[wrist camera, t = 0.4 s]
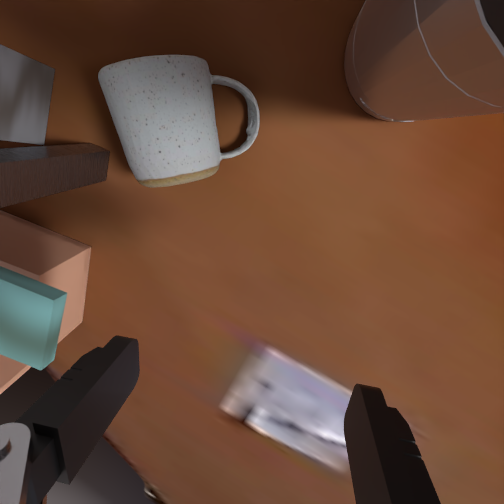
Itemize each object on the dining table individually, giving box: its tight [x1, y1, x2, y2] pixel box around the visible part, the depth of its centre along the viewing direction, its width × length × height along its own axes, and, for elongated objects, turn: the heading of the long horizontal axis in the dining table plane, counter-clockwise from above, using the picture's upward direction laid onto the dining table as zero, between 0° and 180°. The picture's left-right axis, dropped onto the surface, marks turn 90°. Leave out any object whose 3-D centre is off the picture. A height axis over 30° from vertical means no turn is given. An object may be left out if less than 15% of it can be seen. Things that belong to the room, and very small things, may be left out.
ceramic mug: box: [98, 55, 260, 187], centre depth 21 cm, size 11×8×8 cm
